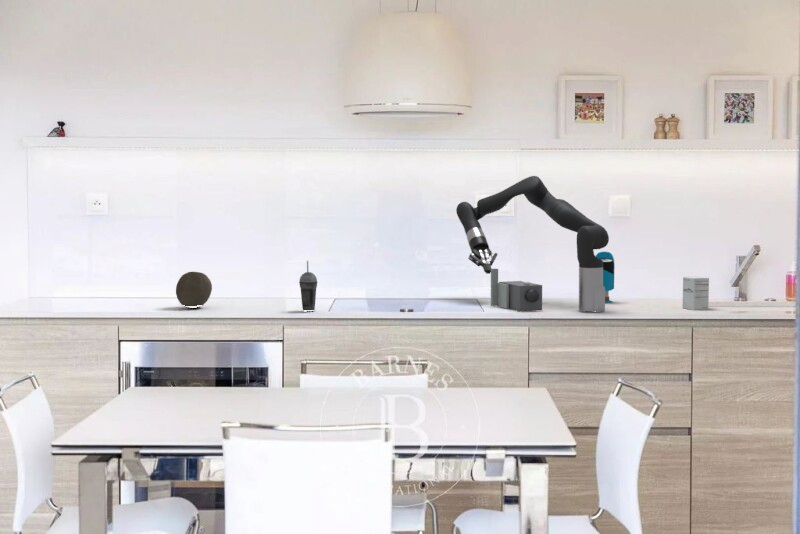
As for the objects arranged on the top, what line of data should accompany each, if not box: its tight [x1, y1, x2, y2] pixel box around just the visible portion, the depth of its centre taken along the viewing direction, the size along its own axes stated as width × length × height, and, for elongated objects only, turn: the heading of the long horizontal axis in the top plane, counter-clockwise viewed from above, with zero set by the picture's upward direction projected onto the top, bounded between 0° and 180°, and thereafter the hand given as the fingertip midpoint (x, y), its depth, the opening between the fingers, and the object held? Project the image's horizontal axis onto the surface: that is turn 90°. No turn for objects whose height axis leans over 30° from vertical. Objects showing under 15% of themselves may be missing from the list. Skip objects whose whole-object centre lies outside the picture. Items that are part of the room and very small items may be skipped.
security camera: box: [595, 251, 615, 304], centre depth 431 cm, size 8×21×10 cm
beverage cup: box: [298, 260, 318, 311], centre depth 405 cm, size 7×7×20 cm
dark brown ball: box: [175, 271, 213, 307], centre depth 418 cm, size 14×14×15 cm
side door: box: [490, 268, 509, 309], centre depth 414 cm, size 10×3×15 cm, turn 18°
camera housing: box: [498, 280, 543, 312], centre depth 411 cm, size 22×10×11 cm, turn 18°
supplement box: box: [682, 275, 710, 311], centre depth 407 cm, size 7×7×13 cm
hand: (488, 272), depth 423 cm, fingers closed
